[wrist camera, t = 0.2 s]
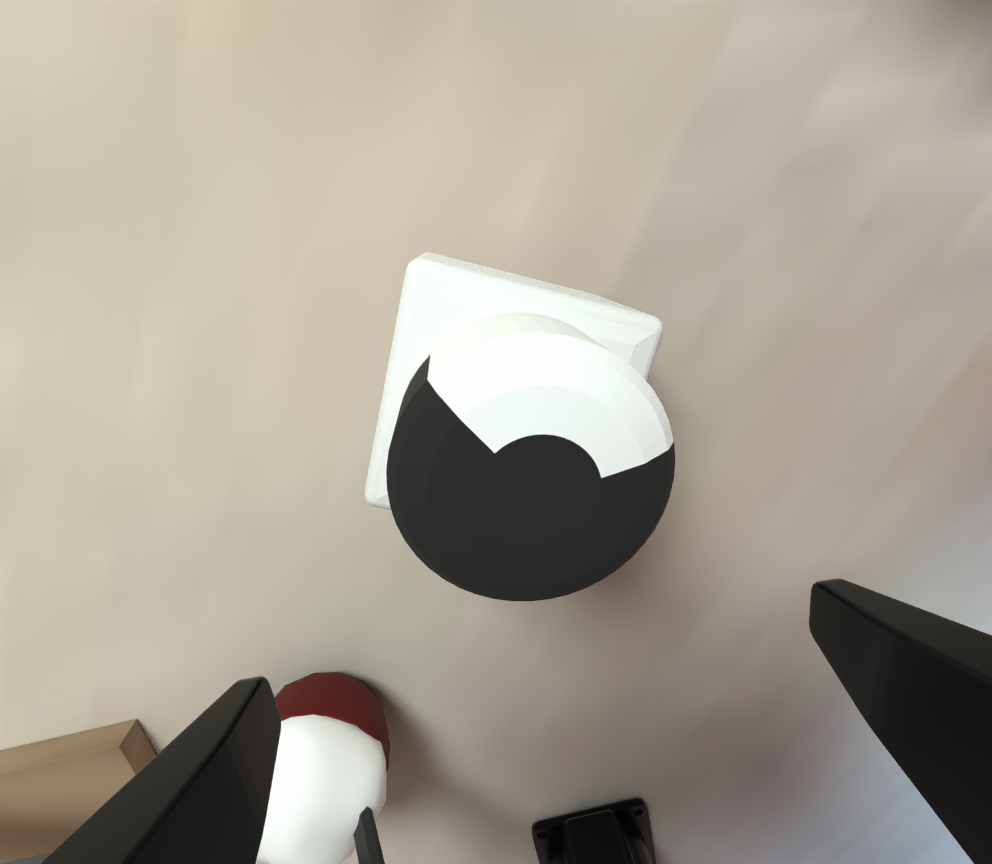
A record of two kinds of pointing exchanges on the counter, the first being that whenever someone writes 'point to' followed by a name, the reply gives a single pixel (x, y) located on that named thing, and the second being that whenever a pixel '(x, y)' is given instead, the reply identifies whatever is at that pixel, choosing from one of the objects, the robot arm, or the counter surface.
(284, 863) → the cocoa
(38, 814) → the tray stand
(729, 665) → the counter surface
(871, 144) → the counter surface
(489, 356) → the medicine bottle
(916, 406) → the counter surface
